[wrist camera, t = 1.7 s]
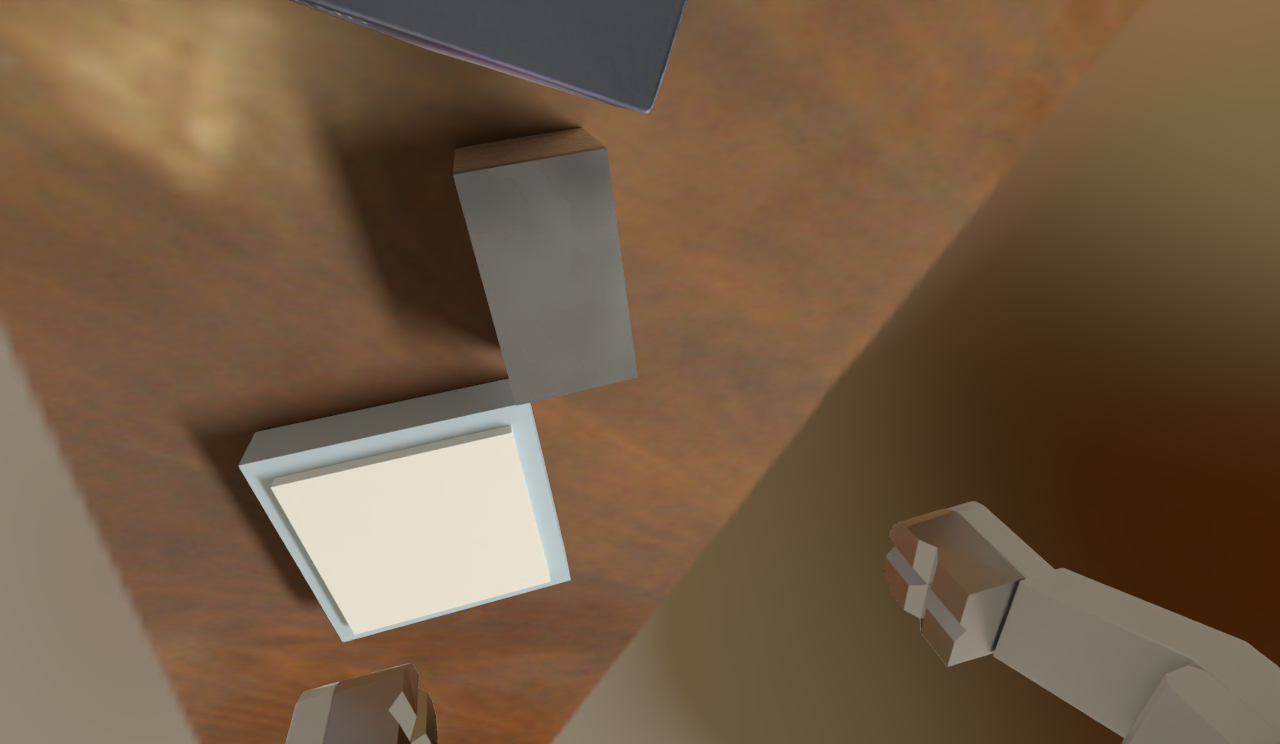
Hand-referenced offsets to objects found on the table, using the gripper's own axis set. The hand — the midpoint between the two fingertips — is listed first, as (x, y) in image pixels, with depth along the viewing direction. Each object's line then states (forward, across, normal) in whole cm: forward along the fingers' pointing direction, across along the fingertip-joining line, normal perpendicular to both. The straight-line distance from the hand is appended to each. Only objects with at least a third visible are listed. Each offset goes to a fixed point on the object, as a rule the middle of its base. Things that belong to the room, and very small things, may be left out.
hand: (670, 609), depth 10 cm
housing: (+19, 0, 0) cm, 19 cm away
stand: (+19, +8, +12) cm, 24 cm away
